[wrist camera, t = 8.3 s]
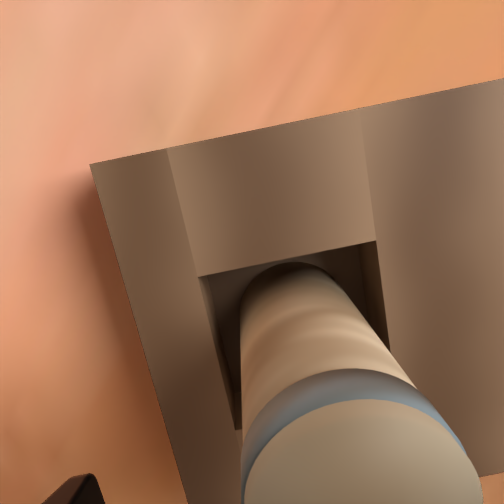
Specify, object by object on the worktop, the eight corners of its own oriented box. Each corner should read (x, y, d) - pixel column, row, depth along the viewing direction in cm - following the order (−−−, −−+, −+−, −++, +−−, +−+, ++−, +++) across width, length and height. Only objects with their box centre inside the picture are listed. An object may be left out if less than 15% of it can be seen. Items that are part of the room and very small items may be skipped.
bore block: (683, 43, 13) (787, 19, 11) (666, 381, 16) (744, 423, 13) (116, 161, 13) (89, 164, 11) (202, 475, 16) (197, 533, 14)
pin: (339, 249, 14) (478, 389, 6) (354, 351, 14) (493, 589, 7) (227, 272, 14) (216, 442, 6) (250, 372, 15) (266, 633, 7)
